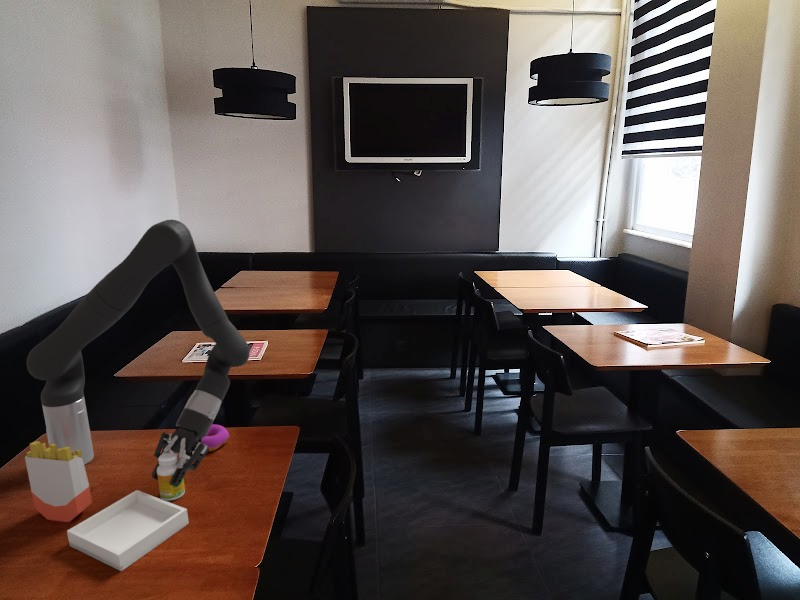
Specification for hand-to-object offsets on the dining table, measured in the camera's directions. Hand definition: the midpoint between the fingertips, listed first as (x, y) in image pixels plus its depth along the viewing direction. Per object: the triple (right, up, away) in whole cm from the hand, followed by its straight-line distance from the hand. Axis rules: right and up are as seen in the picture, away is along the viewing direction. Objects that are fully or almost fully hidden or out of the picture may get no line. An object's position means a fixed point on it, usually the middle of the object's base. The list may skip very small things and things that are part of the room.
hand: (164, 482), depth 126 cm
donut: (+1, +2, +26) cm, 26 cm away
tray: (-2, -7, -11) cm, 14 cm away
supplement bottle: (+1, -4, +3) cm, 5 cm away
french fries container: (-20, -6, -4) cm, 21 cm away
